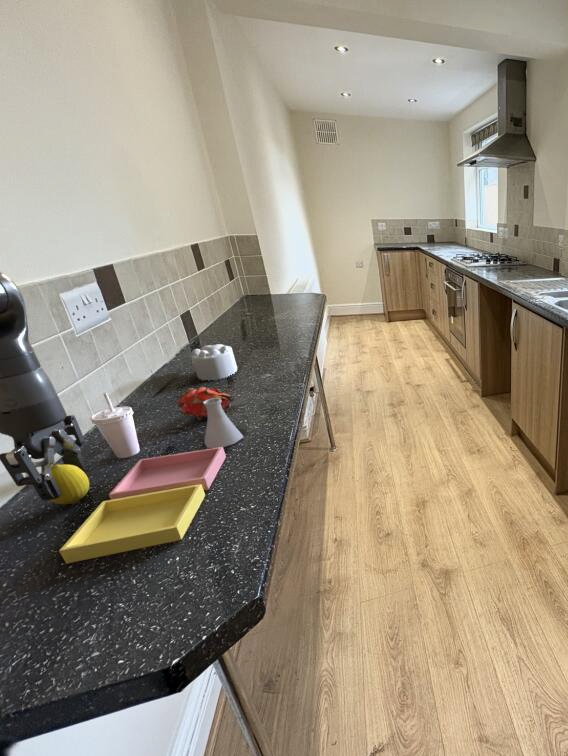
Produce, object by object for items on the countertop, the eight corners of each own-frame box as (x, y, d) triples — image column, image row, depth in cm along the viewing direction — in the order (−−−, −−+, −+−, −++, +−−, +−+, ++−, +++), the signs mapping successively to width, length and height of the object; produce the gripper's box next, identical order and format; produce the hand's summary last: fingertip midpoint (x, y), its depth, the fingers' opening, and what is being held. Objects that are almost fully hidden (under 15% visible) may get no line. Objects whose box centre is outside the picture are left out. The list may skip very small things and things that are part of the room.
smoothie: (153, 443, 91) (130, 385, 86) (139, 458, 85) (114, 397, 80) (118, 448, 89) (92, 389, 84) (101, 464, 84) (73, 402, 78)
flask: (197, 445, 90) (183, 404, 87) (230, 430, 96) (218, 391, 93) (218, 452, 87) (204, 410, 84) (250, 437, 94) (239, 397, 90)
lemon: (75, 493, 75) (56, 456, 72) (105, 493, 75) (87, 456, 72) (42, 513, 70) (21, 474, 67) (74, 514, 70) (53, 475, 66)
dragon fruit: (181, 423, 103) (237, 422, 107) (166, 417, 95) (227, 416, 99) (185, 391, 105) (239, 391, 109) (171, 382, 97) (230, 383, 101)
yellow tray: (66, 563, 60) (58, 550, 59) (108, 513, 70) (102, 501, 69) (181, 539, 64) (176, 527, 63) (205, 495, 74) (201, 483, 73)
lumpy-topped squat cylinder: (238, 364, 139) (231, 340, 135) (234, 377, 128) (226, 351, 125) (201, 369, 134) (193, 344, 131) (194, 383, 124) (185, 356, 120)
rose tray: (113, 506, 71) (108, 494, 70) (143, 470, 82) (139, 459, 81) (208, 489, 76) (204, 478, 75) (226, 456, 86) (222, 446, 85)
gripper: (22, 385, 69) (64, 467, 76) (-51, 422, 57) (7, 517, 63) (78, 379, 72) (114, 459, 78) (20, 414, 59) (68, 506, 66)
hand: (66, 485), depth 71 cm, fingers open, 7 cm apart
